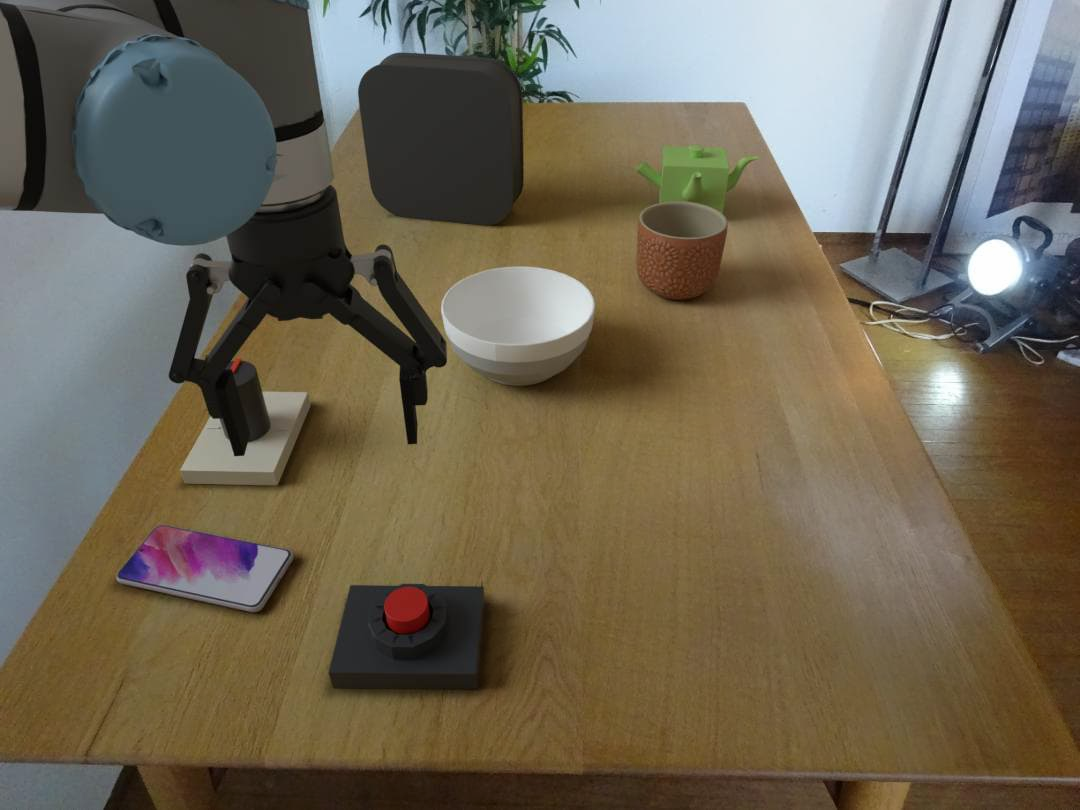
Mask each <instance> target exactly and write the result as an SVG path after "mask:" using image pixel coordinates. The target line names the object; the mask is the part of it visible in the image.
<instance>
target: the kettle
mask: <svg viewBox="0 0 1080 810" xmlns="http://www.w3.org/2000/svg"><path fill="white" fill-rule="evenodd" d="M759 158H760V157H758V156H753V155H749V156H744V157H742V158H741V159H739V161H738V162H737V163H736V165H735V168H734V169H733V170H732V171H731V172H730V165H729V164H730V163H729V158H728V153H727V148H726V147H710V146H709V147H707V146H702V145H699V144H692V145H689V146H687V145H686V146H683V145H663V148H662V159H661V169H660V172H658V171H657V170H655V169H654V168H653V167H652V166H651V165H649V164H648V163H647V162H646V161H645V160H644V161H641V162H640V163H639V164H638V166H637V168H636V169H635V172H637V173H638V174H639V175H640V176H642V177H643V178H645V179H646V180H647V181H648V182H650V183H651V184H652V185H653V186H655V187H656V188H658V189H659V191H658V194H659V195H658V196H659V197H658V198H659V199H658V200H659V203H663V202H672V201H683V202H693V203H698V204H703V205H706V206H709V207H712V208H714V209H716V210H718V211H719V212H721V213H722V214H723V215H724V208H725V202H726V195H727V193H729V192H730V191H731V190H733V189H734V188H735V187H736V186H737V184H738V182H739V180H740V178H741V176H742V174H743V172H744V170H745V169H746V167H747V166H748V165H749V164H750V163H751V162H753V161H755V160H758V159H759Z"/></svg>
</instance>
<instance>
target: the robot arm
mask: <svg viewBox="0 0 1080 810" xmlns="http://www.w3.org/2000/svg"><path fill="white" fill-rule="evenodd" d="M310 8H311V7H310V2H309V0H0V211H7V212H8V211H11V212H12V211H13V212H14V211H15V212H16V211H17V212H42V213H43V212H46V213H64V214H65V213H66V214H92V215H93V214H95V215H96V214H99V215H104V216H105V217H106V219H108V221H110V222H111V223H113V224H114V225H116V226H117V227H119V228H122V229H124V230H127V231H130V232H133V233H135V234H136V235H138V236H140V237H143V238H144V239H148V240H151V241H154V242H156V243H160V244H164V245H170V246H180V247H185V246H187V247H189V246H199V245H204V244H208V243H213V242H214V241H217V240H219V239H222V238H225V237H226V241H227V245H228V250H229V252H230V256H231V261H223V260H213V259H212V257H211V256H210V255H208V254H207V253H204V252H200V253H197V254H196V255H194V258H193V260H192V261H191V264H190V266H189V268H188V270H187V272H186V275H185V278H186V284H187V285H186V286H187V291H188V297H189V300H188V303H187V307H186V311H185V314H184V319H183V322H182V325H181V329H180V333H179V336H178V340H177V343H176V346H175V350H174V354H173V357H172V360H171V365H170V368H169V372H168V378H169V381H171V382H172V383H175V384H177V385H178V384H179V385H180V384H183V383H185V382H189V383H193V384H195V385H197V386H198V387H199V388H200V390H201V394H202V396H203V400H204V402H205V403H204V404H205V406H206V409H207V412H208V415H209V416H211V417H212V418H213V419H221V418H223V420H224V424H225V427H226V430H227V433H228V437H229V440H230V443H231V446H232V450H233V453H234V456H244V455H245V451H246V447H247V444H248V440H249V437H250V432H249V428H248V425H247V421H246V417H245V414H244V410H243V407H242V403H241V400H240V396H239V393H238V389H237V386H236V382H235V379H234V375H233V372H232V369H225V368H226V367H227V366H228V364H229V363H230V362H231V361H233V360H234V358H235V356H236V355H237V353H238V352H239V351H240V349H241V348H242V347H243V345H244V344H245V342H246V341H247V339H248V338H249V337H250V336H251V334H252V333H253V332H254V331H256V330H257V328H258V327H259V325H260V324H261V323H262V322H263V320H264V319H265V317H266V316H267V315H268V316H270V317H272V318H275V319H277V322H287V321H289V322H290V321H293V320H296V319H299V318H301V319H307V320H323V317H324V316H326V315H331V316H332V317H333V318H334V319H335V320H337V321H338V322H339V323H341V324H342V325H344V326H347V325H348V326H349V327H351V328H352V329H353V330H355V332H356V333H358V334H360V336H361V337H363V338H364V339H366V340H367V341H368V342H369V343H370V344H372V345H373V346H374V347H376V348H377V349H378V350H379V351H380V352H381V353H383V354H384V355H386V357H388V358H389V359H390V360H392V361H393V362H394V363H395V364H397V365H398V366H399V376H398V379H399V389H400V395H401V403H402V411H403V418H404V427H405V435H406V442H407V445H418V415H417V408H416V407H418V406H426V405H427V403H428V400H429V399H428V398H429V397H428V391H429V390H428V382H427V381H428V380H427V371H428V370H429V369H431V368H433V367H435V368H438V369H439V368H440V369H441V368H443V367H445V366H446V365H447V363H448V348H447V347H448V345H447V341H446V339H445V338H444V336H443V334H442V333H441V331H440V330H439V329H438V328H437V326H436V324H435V323H434V322H433V320H432V319H431V317H430V316H429V314H427V313H428V312H426V311H425V309H424V307H423V306H422V304H421V303H420V302H419V300H418V299H417V298H416V296H415V295H414V293H413V292H412V291H411V289H410V288H409V287H408V285H407V283H406V282H405V281H404V279H403V278H402V275H400V274H399V272H398V268H397V266H396V265H397V264H396V261H395V257H394V253H393V250H392V248H391V247H390V246H389V245H388V244H379V245H377V246H376V247H375V249H374V252H370V253H369V252H367V253H362V254H361V253H360V254H354V255H353V254H352V253H351V252H350V250H349V249H348V247H347V244H346V241H345V237H344V236H345V235H344V231H343V230H344V229H343V225H342V224H343V223H342V218H341V212H340V206H339V205H340V204H339V198H338V193H337V190H336V188H335V187H334V186H333V185H332V183H333V180H334V179H335V173H334V167H333V161H332V155H331V148H330V141H329V136H328V129H327V123H326V122H327V121H326V119H325V116H324V109H323V104H322V100H321V98H322V97H321V92H320V85H319V79H318V73H317V71H318V70H317V65H316V59H315V52H314V46H313V38H312V31H311V24H310V15H309V10H310ZM355 275H361V276H362V277H364V278H365V280H366V281H367V282H368V283H369V285H370V286H372V287H376V286H377V287H378V290H379V292H380V295H381V297H382V298H383V300H384V301H385V303H386V304H387V305H388V306H389V308H390V309H391V311H392V312H393V313H394V315H395V316H396V317H397V319H398V320H399V322H400V323H401V324H402V326H403V327H404V328H405V330H406V331H407V332H408V334H409V335H410V336H411V337H410V336H409V335H408V334H406V333H405V332H404V331H403V330H402V329H400V327H398V326H397V325H396V324H394V323H393V322H392V321H391V320H389V318H387V317H386V315H383V314H382V313H381V312H380V311H379V310H377V308H375V307H374V306H373V305H372V304H370V303H369V302H368V301H367V300H366V299H364V298H363V296H362V295H361V292H360V291H359V290H358V289H357V288H356V287H355V286H354V285H352V284H351V282H352V281H353V279H354V277H355ZM225 282H230V283H231V284H232V285H233V286H234V287H235V288H236V289H237V290H238V291H239V292H241V293H242V294H244V296H245V297H247V298H246V300H245V301H244V303H243V305H242V306H241V308H240V309H239V310H238V312H237V313H236V315H235V316H234V318H233V319H232V320H231V322H230V323H229V325H228V326H227V327H226V328H225V330H224V332H223V333H222V334H221V336H220V337H219V339H218V340H217V342H216V343H215V345H214V346H213V347H212V348H211V350H210V351H209V352H208V354H206V355H205V357H204V359H201V358H196V354H197V350H198V347H199V344H200V340H201V337H202V334H203V330H204V326H205V323H206V320H207V316H208V313H209V309H210V306H211V303H212V299H213V296H214V294H218V293H220V292H221V290H222V288H223V286H224V283H225Z"/></svg>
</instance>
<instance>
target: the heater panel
mask: <svg viewBox="0 0 1080 810" xmlns="http://www.w3.org/2000/svg"><path fill="white" fill-rule="evenodd" d="M262 393H263V396H264V400H265V404H266V408H267V412H268V415H269V419H270V423H271V425H270V429H269V431H268V432H267V433H266V434H265V435H264V436H262V437H261V438H259V439H256V440H254V441H250V442H248V444H247V447H246V451H245V455H244V456H234V453H233V450H232V446H231V443H230V440H229V439H227V438H226V437H225V435H224V431H223V428H222V425H221V422H220V419H213V418H212V417H211V416H210V415H209V416H210V417H209V418H208V420H207V422H206V423H205V425H204V427H203V428H202V430H201V433H200V434H199V436H198V437H197V440H196V441H195V443H194V445H193V446H192V448H191V450H190V452H189V454H188V455H187V457H186V459H185V461H184V462H183V464H182V466H181V467H180V470H179V471H180V474H181V476H182V479H183V482H184V484H186V485H229V486H231V485H232V486H234V485H235V486H276V487H277V486H278V485H279V483H280V481H281V478H282V476H283V474H284V470H285V468H286V466H287V464H288V461H289V459H290V456H291V454H292V452H293V449H294V447H295V444H296V442H297V439H298V438H299V435H300V432H301V431H302V430H301V429H302V427H303V426H304V423H305V420H306V418H307V415H308V413H309V411H310V409H311V404H312V403H311V400H310V395H309V392H307V391H263V390H262Z"/></svg>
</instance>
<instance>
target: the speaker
mask: <svg viewBox="0 0 1080 810" xmlns="http://www.w3.org/2000/svg"><path fill="white" fill-rule="evenodd" d="M357 97H358V98H357V99H358V106H359V114H360V115H359V116H360V121H361V129H362V136H363V144H364V150H365V151H364V152H365V158H366V166H367V173H368V178H369V179H368V180H369V185H370V189H371V193H372V195H373V197H374V198H375V200H376V201H377V203H378V204H379V205H380V207H382V208H383V209H384V210H385V211H387V212H388V213H390V214H392V215H395V216H396V217H397V216H398V217H401V218H410V219H417V220H428V221H437V222H447V223H457V224H466V225H467V224H468V225H476V226H492V225H496V224H499V223H500V222H502V221H504V219H505V218H506V217H507V216H508V215H509V214H510V212H511V211H512V209H513V206H514V204H515V202H516V201H517V200H518V199H519V197H520V196H521V194H522V192H523V189H524V181H525V178H524V177H525V176H524V175H525V173H524V171H525V170H524V169H525V168H524V161H525V160H524V106H523V88H522V84H521V82H520V80H519V77H518V76H517V74H516V73H515V71H514V70H513V69H512V68H511V66H509V65H508V64H506V63H505V62H503V61H501V60H500V59H497V58H492V57H484V56H483V57H480V56H469V55H468V56H467V55H454V54H450V55H449V54H437V53H436V54H435V53H420V52H419V53H418V52H417V53H416V52H394V53H390V54H389V55H387V56H386V57H385V58H384V59H382V60H381V61H380V63H379V64H376V65H374V66H372V67H370V68H369V69H368V70H366V72H365V73H364V74H363V75H362V77H361V78H360V81H359V83H358V88H357Z"/></svg>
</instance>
